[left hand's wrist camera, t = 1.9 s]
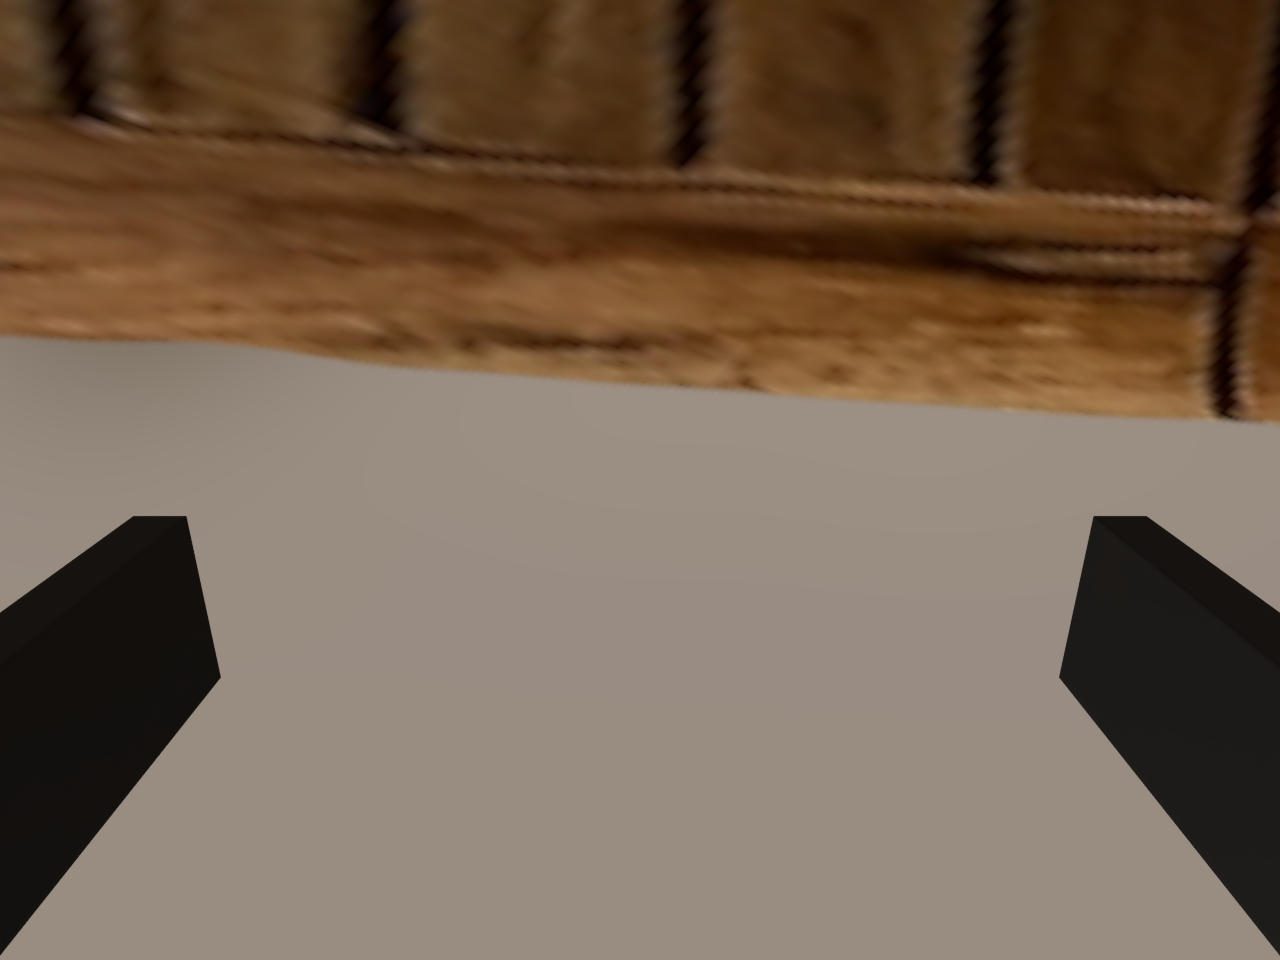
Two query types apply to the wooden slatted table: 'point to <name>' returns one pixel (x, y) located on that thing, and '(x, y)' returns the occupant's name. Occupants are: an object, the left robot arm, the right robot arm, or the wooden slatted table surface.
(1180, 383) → the wooden slatted table surface
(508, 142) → the wooden slatted table surface
